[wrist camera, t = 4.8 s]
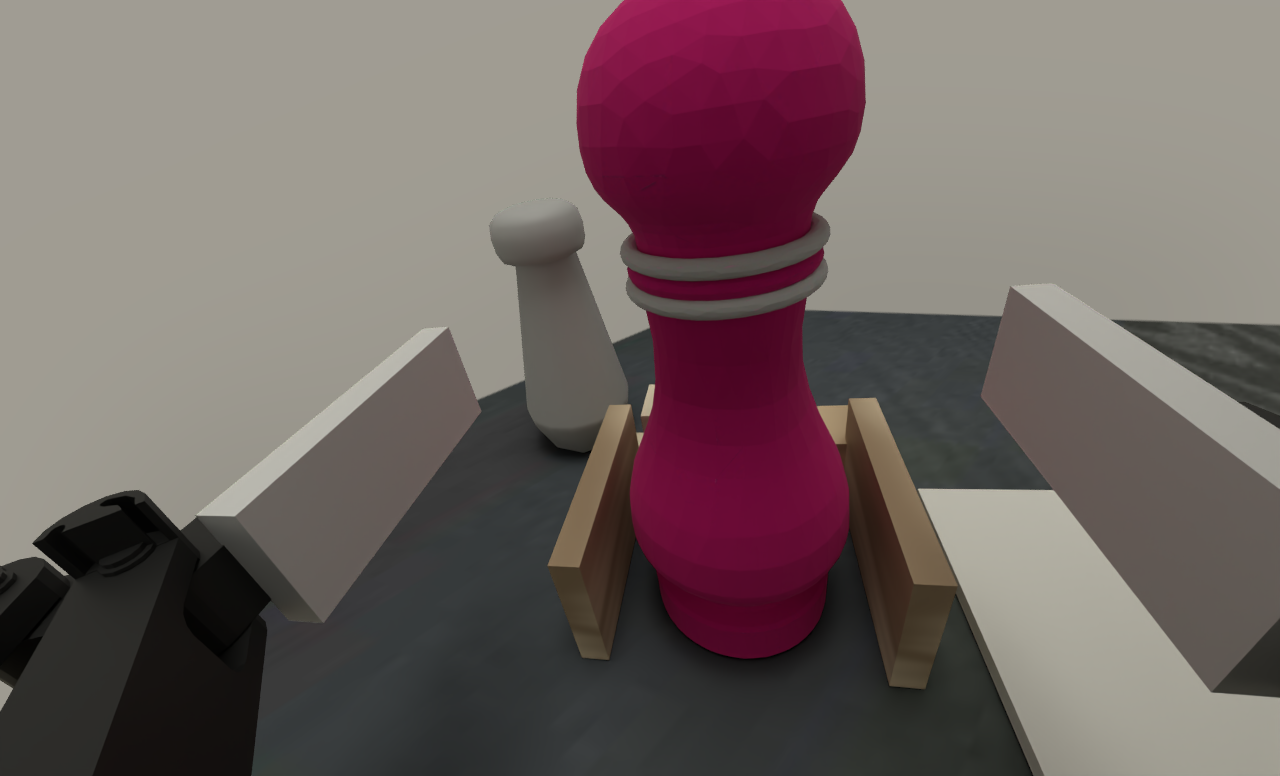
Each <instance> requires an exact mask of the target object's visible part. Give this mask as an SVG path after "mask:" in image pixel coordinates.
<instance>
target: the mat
mask: <svg viewBox="0 0 1280 776" xmlns="http://www.w3.org/2000/svg"><path fill="white" fill-rule="evenodd" d="M917 494H918V496H919V498H920V501H921V503H922V505H923V507H924V510H925V512H926V514H927V517H928V519H929V521H930V523H931V526H932V528H933V530H934V533H935V535H936V537H937V540H938V542H939V544H940V546H941V549H942V551H943V553H944V556H945V558H946V560H947V563H948V565H949V567H950V569H951V572H952V574H953V576H954V579H955V581H956V583H957V585H958V587H957V590H956V595H957V597H958V600H959V602H960V604H961V607H962V609H963V611H964V614H965V616H966V618H967V621H968V623H969V625H970V628H971V630H972V632H973V635H974V637H975V640H976V642H977V644H978V647H979V649H980V651H981V654H982V656H983V658H984V661H985V663H986V665H987V668H988V670H989V672H990V675H991V677H992V679H993V682H994V684H995V686H996V689H997V691H998V694H999V696H1000V698H1001V701H1002V703H1003V705H1004V708H1005V710H1006V712H1007V715H1008V717H1009V719H1010V722H1011V724H1012V726H1013V729H1014V731H1015V733H1016V736H1017V738H1018V740H1019V743H1020V745H1021V748H1022V750H1023V752H1024V755H1025V757H1026V759H1027V762H1028V764H1029V766H1030V769H1031V771H1032V773H1033V776H1280V698H1276V697H1263V696H1250V695H1237V694H1225V693H1212V692H1210V690H1209V689H1208V688H1207V687H1206V685H1205V684H1204V683H1203V681H1202V680H1201V679H1200V678H1199V676H1198V675H1197V674H1196V672H1195V671H1194V670H1193V669H1192V667H1191V666H1190V665H1189V663H1188V662H1187V661H1186V660H1185V658H1184V657H1183V656H1182V654H1181V653H1180V652H1179V651H1178V649H1177V648H1176V647H1175V645H1174V644H1173V643H1172V642H1171V640H1170V639H1169V638H1168V636H1167V635H1166V634H1165V633H1164V631H1163V630H1162V629H1161V627H1160V626H1159V625H1158V624H1157V622H1156V621H1155V620H1154V618H1153V617H1152V616H1151V615H1150V613H1149V612H1148V611H1147V609H1146V608H1145V607H1144V606H1143V604H1142V603H1141V602H1140V600H1139V599H1138V598H1137V597H1136V595H1135V594H1134V593H1133V591H1132V590H1131V589H1130V588H1129V586H1128V585H1127V584H1126V582H1125V581H1124V580H1123V579H1122V577H1121V576H1120V575H1119V573H1118V572H1117V571H1116V570H1115V568H1114V567H1113V566H1112V564H1111V563H1110V562H1109V561H1108V559H1107V558H1106V557H1105V555H1104V554H1103V553H1102V552H1101V550H1100V549H1099V548H1098V546H1097V545H1096V544H1095V543H1094V541H1093V540H1092V539H1091V537H1090V536H1089V535H1088V534H1087V532H1086V531H1085V530H1084V528H1083V527H1082V526H1081V525H1080V523H1079V522H1078V521H1077V519H1076V518H1075V517H1074V516H1073V514H1072V513H1071V512H1070V510H1069V509H1068V508H1067V507H1066V505H1065V504H1064V503H1063V501H1062V500H1061V499H1060V498H1059V496H1058V495H1057V494H1056V492H1055V491H1054V490H982V489H918V490H917Z"/></svg>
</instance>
